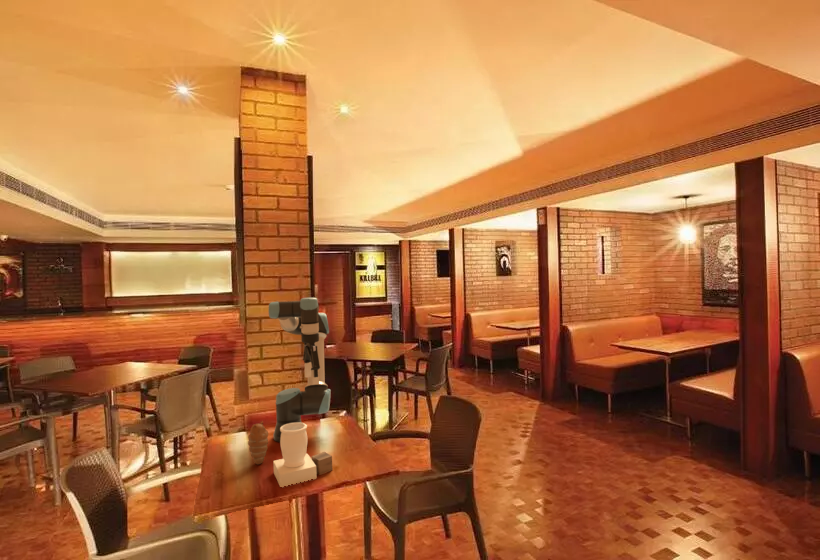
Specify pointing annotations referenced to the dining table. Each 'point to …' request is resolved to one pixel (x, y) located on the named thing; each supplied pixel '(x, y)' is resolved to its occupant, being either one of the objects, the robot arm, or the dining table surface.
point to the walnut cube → (322, 462)
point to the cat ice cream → (258, 442)
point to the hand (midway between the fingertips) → (311, 380)
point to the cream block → (294, 472)
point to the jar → (293, 444)
